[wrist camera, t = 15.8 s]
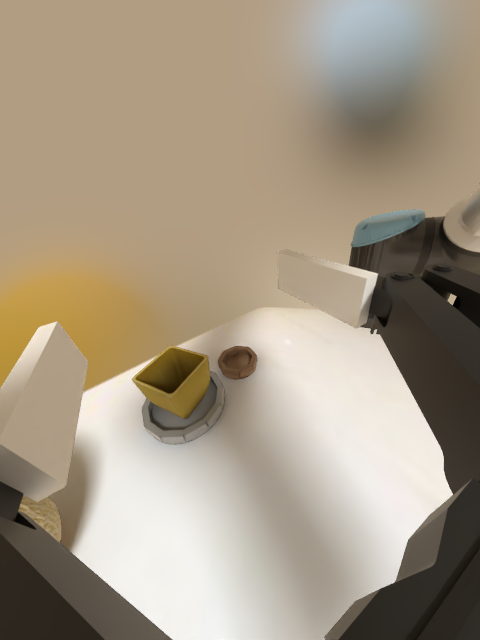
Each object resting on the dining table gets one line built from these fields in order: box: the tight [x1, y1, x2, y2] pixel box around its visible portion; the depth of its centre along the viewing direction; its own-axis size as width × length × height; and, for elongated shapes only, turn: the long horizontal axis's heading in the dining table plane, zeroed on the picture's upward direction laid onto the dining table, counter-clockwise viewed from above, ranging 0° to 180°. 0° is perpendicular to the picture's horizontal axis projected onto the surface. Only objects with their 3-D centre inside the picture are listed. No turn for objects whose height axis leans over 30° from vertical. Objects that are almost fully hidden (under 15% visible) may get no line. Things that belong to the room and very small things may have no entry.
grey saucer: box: [142, 371, 225, 444], centre depth 37 cm, size 14×14×2 cm
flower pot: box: [132, 346, 210, 419], centre depth 35 cm, size 9×9×9 cm
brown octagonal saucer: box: [218, 346, 257, 379], centre depth 44 cm, size 8×8×2 cm
